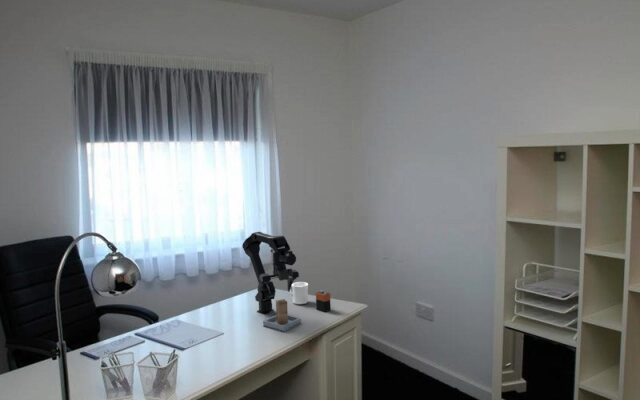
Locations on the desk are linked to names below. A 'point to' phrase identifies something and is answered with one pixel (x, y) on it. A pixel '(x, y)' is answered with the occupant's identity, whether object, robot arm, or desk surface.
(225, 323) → the desk surface
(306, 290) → the mug
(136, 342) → the desk surface
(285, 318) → the walnut block
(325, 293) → the battery
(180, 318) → the desk surface
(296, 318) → the tray
